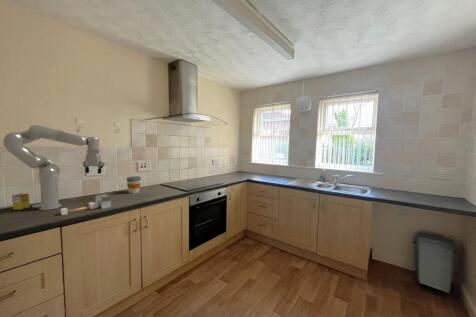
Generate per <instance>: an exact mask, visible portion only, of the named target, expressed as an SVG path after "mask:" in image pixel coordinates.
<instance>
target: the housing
mask: <svg viewBox="0 0 476 317" xmlns="http://www.w3.org/2000/svg"><path fill="white" fill-rule="evenodd" d="M95 202H98V204H99V205H98V207H100V209H107V208H111V207H112V197H111V196H110V195H108V194H106V193H99V194H95Z"/></svg>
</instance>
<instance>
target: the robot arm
mask: <svg viewBox="0 0 476 317" xmlns="http://www.w3.org/2000/svg"><path fill="white" fill-rule="evenodd" d="M40 139H44V140H50V141H53V142H58V143H65V144H69V145H74V146H79V147H81V146H87V150H86V155H85V158H84V159H85V160H84V161H82V163H81V164H82V166H83V167H84V170H85V174H89V173H90V167H97V174H102V169H103V168H104V166H105V162H103V161H102V159H101V155H100V138H99V137H98V136H83V135H82V136H81V135H77V134H74V133H69V132H65V131H63V130H60V129H57V128H52V127H46V126H43V125H37V124H35V125H31V126H29V128H28V129H26V130H24V131H21V132H19V131H13V132H9V133H7V134H6V135H5V136H4V138H3V140H2V141H3V142H2V143H3V145H4V148H5V150H7V151H8V152H9V153H10V154H11V155H12V156H14V157H16V158H17V159H18V160H19V161H21V162H22V163H24V164H25V165H26V166H27V167H29V168H31V169H38V180H39V187H40V202H39V203H37V204H36V203H35V204H32V207H31V208H38V210H40V211H49V210H54V209H58V208H60V207H62V206H63V204H62V203H60V201H59V200H60V198H59V197H60V196H59V181H58V175H59V174H60V173H61V169H60V166H58V165H57V164H56V163H54V162H53V161H52V160H50V158H48V157H47V156H45V155H42V154H36V153H35V152H33V151H32V150H31V149H30V148H28V147H27V146H25V145H26V144H29V143H31V142H34V141H38V140H40Z"/></svg>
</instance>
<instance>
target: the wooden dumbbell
mask: <svg viewBox="0 0 476 317" xmlns="http://www.w3.org/2000/svg"><path fill="white" fill-rule="evenodd" d="M87 204H88V206H83V207H78V208H71V209H68V208H67V207H63V208H60V214H61V216H64V215H68V214H69V213H74V212H80V211H84V210H89V209H90V210H96V209H99V206H100V205H99V204H98V202H96V201H91V202H88V203H87ZM98 205H99V206H98Z"/></svg>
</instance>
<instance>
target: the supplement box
mask: <svg viewBox="0 0 476 317" xmlns="http://www.w3.org/2000/svg"><path fill="white" fill-rule="evenodd" d="M11 199H12V201H11V202H12V211H25V210H27V209H30V194H29V193H18V194H14V195H13V194H12V196H11Z"/></svg>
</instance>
